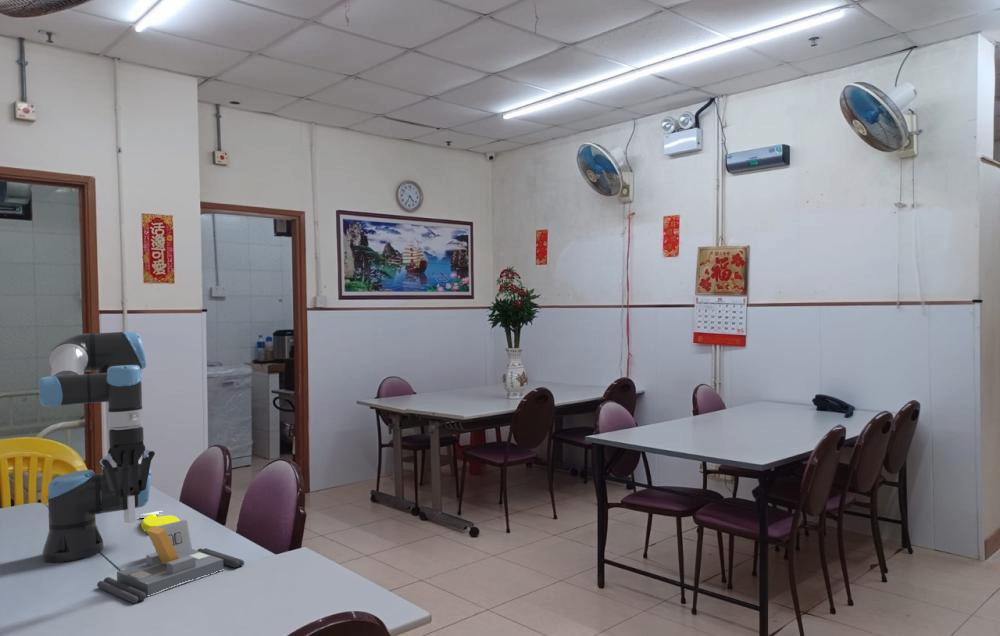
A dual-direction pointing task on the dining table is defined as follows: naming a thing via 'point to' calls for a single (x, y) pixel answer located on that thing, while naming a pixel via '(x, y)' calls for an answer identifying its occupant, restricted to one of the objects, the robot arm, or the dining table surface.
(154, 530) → the lever
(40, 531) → the dining table surface
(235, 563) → the cable bundle
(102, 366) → the robot arm
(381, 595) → the dining table surface
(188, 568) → the breaker panel
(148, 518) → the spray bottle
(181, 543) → the electrical switch
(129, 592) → the cable bundle
